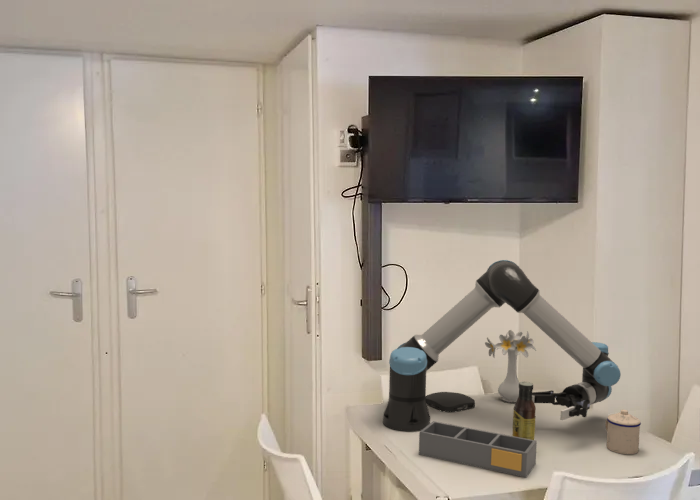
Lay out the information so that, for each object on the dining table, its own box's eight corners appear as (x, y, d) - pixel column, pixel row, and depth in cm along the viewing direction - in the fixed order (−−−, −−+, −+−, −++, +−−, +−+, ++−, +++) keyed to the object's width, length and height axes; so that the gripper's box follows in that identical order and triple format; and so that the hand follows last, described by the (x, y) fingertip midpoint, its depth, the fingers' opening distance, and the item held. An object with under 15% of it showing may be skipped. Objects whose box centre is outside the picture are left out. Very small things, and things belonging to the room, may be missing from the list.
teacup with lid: (646, 453, 193) (648, 414, 192) (619, 456, 190) (622, 416, 189) (618, 438, 204) (620, 401, 203) (592, 441, 201) (594, 403, 200)
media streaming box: (452, 397, 245) (452, 389, 244) (479, 408, 232) (479, 399, 232) (420, 402, 237) (420, 394, 237) (446, 414, 225) (446, 406, 224)
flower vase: (477, 397, 243) (480, 329, 241) (519, 392, 250) (522, 326, 248) (499, 408, 231) (501, 337, 229) (542, 403, 238) (545, 333, 236)
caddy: (418, 454, 188) (418, 432, 188) (432, 442, 198) (433, 421, 198) (525, 478, 174) (526, 453, 174) (535, 463, 184) (536, 440, 183)
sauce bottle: (510, 445, 197) (513, 379, 196) (532, 446, 196) (535, 380, 195) (512, 453, 191) (515, 385, 189) (535, 455, 190) (538, 386, 188)
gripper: (615, 418, 203) (579, 433, 189) (543, 398, 222) (505, 411, 207) (616, 393, 202) (580, 407, 188) (544, 376, 221) (506, 387, 207)
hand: (540, 409), depth 198 cm, fingers open, 13 cm apart
